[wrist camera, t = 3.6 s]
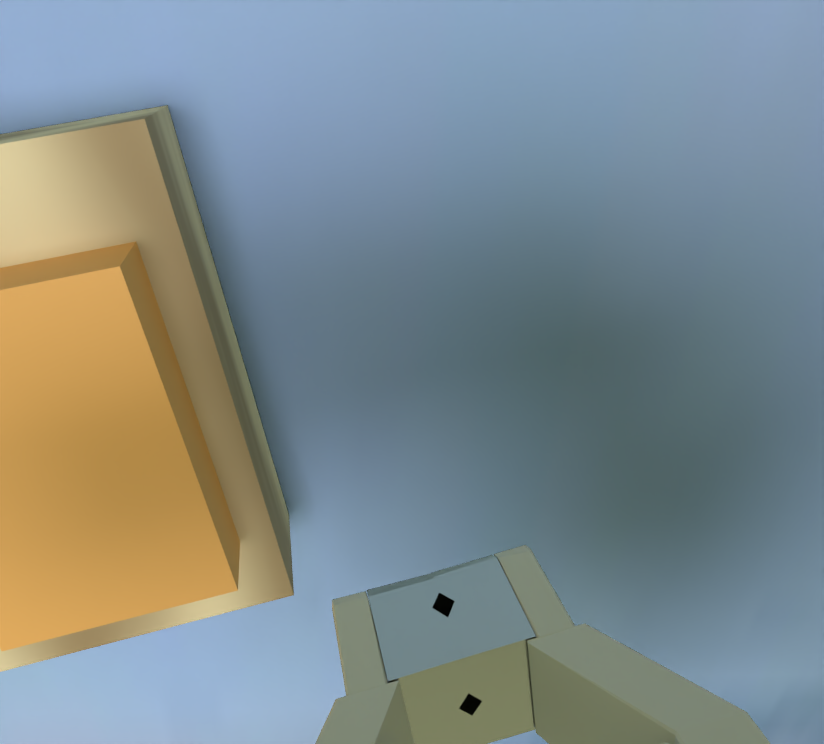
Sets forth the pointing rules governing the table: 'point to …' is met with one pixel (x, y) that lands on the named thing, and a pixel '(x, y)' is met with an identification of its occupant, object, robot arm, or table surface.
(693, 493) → the table surface
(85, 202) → the cylinder
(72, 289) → the orange tile
